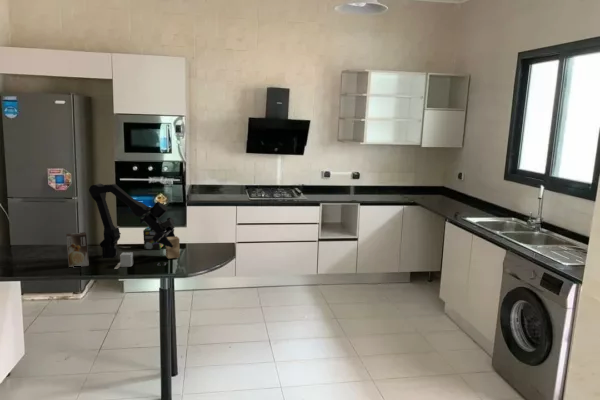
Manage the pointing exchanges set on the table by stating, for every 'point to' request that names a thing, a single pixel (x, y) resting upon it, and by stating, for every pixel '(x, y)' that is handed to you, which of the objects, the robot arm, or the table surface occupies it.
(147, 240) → the chalk box
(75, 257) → the coffee box
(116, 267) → the plain tile
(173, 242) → the oak block
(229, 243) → the table surface
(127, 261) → the grey block
